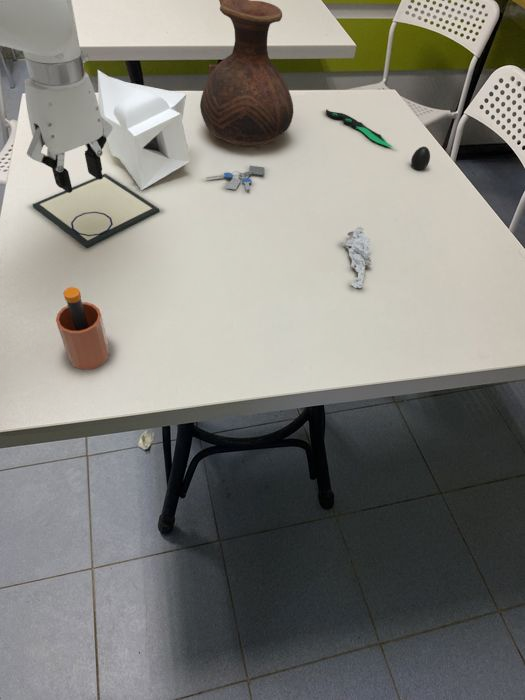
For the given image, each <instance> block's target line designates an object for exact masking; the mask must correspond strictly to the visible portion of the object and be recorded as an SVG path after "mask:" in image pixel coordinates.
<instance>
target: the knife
mask: <svg viewBox="0 0 525 700" xmlns="http://www.w3.org/2000/svg"><path fill="white" fill-rule="evenodd" d="M325 113H326V116H328V118H330V119H333V120H339V121H343V124H345V125H347V126H350V127H351V128H353V129H355V130H359V131H361V132H362V133H364V135H365V136H367V137H368V138H369V139H370V140H371V141H373V142H375V143H377V144H379V145H383V146H386V147H389V148H394V146H392V145H391V144H390V143H388V142H387V140H386V139H385V138H384V137H383V136H382V135H381V134H379V133H377V132H376V131H373V130H372V129H371V128H369V127H367V126H366V125H365V124H363V122H362V121H358V120H356V119H355V118H353V117H351V116H350V115H348V114H346V113H343V112H337V111H331V110H328V109H327V108H326V109H325Z"/></svg>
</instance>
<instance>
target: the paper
mask: <svg viewBox="0 0 525 700" xmlns="http://www.w3.org/2000/svg"><path fill="white" fill-rule="evenodd" d="M364 230H365V229H364V227H362V226H361V225H360V226H358V227H357V228H356V229H353V230H351V231H349V232H347V235H348V236H349V238H348V239H347V240H346V242H345V243H343V244H342V246H343V247H344V248H345V249H347V251H348V255H349V258H350V260H351V264H350V266H351V267H352V268H353V269H354V270H355V272H356V273H357V277H356V278H355V279H354V280H352V281H351V286H352V287H353V288H354V289H362V288H363V286H364V284H363V281H364V277H365V273H366V270H365V269H366V266H368V265H370V266H372V264H373V262H372V260H371V258H370V255H369V254H370V253H371V248H370V246H369V245H370V244H371V242H372V239H371V238H369V237H368V236H367V235H366V234H365V232H364Z"/></svg>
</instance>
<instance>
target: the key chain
mask: <svg viewBox="0 0 525 700" xmlns="http://www.w3.org/2000/svg"><path fill="white" fill-rule="evenodd" d="M248 169H249V170H248V171H245V172H240V171H238V170H237V171H235V170H234V171H232V172H224V173H223V174H221V175H214V176H206V177H205V179H206V180H207V179H215V178H216V179H217V178H226V179H231V180H230V181H229V183H228V185H227V186H226V189H228V190H235V191H237V188H238V187H239V185H240V183H242V184H244V188H245V191H249V190H250V189H251V188H250V184H251V183H252V179H251V178H249V177H250V176H253V175H256V176H257V175H258V176H264V175H265V174H264V173H265V167H264V166H257V165H250V166H249V168H248ZM234 173H239V174H238V175H237V176H238V178H239V179H238V178H234Z"/></svg>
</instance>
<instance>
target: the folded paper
mask: <svg viewBox="0 0 525 700" xmlns="http://www.w3.org/2000/svg"><path fill="white" fill-rule="evenodd" d="M97 90H98V93H97V94H98V106H99V110H100V114H101V117H102V118H103V119H104V120H105V121H107V122H108V123H109V124H110V125H111V126H112V131H111V133H110V134H109V136H108V138H106V139H107V140H106V142H107V144H108V148H109V151H110V155H111V156H113V157H115V158H116V159H119V160H120V162H121V163H122V165H123V166H124V168H125V169H126V170H127V171H128V173H129V175H130V176H131V177H132V179H133V180H134V182H135V184H137V186H138V188H139V189H140V191H143V190H144V189H146V188H148V187H149V186H151V185H153V184H155V183H156V182H158V181H160V180H162V179H163V178H165V177H167V176H168V175H170V174H172V173H173V172H175V171H177V170H178V169H180V168H182V167H183V166H185V165H187V164H188V163H190V162H191V161H192V160H191V156H190V152H189V147H188V142H187V137H186V132H185V127H184V123H183V119H184V118H183V117H184V113H185V112H184V111H185V107H186V106H185V105H186V100H187V98H186V97H187V93H183V92H177V91H173V90H167V89H163V88H157V87H153V86H148V85H142V84H137V83H132V82H129V81H128V82H127V81H124V80H121V79H119V78H116V77H112V76H109V75H107V74H105V73H104V72H102V71H100V70H99V69H97Z"/></svg>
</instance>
